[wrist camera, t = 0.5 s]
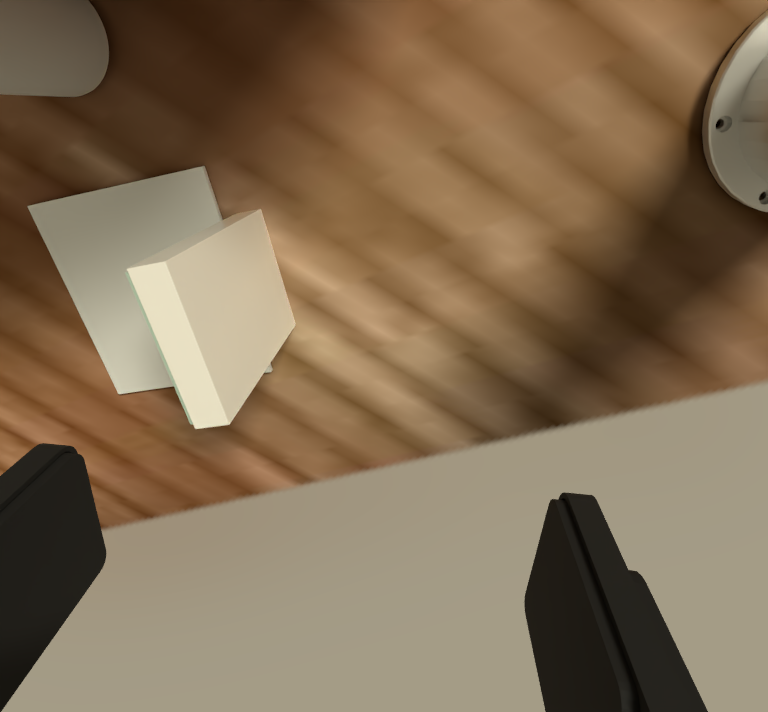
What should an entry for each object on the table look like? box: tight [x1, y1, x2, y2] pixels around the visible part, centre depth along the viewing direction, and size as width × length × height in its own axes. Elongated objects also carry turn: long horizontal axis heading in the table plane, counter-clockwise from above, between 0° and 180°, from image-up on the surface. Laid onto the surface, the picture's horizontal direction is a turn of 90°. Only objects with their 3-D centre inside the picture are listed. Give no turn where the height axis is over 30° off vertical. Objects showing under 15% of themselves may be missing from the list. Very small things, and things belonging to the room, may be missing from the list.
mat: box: [27, 166, 273, 394], centre depth 39 cm, size 14×16×1 cm
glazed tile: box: [125, 209, 296, 429], centre depth 31 cm, size 2×9×14 cm, turn 12°
